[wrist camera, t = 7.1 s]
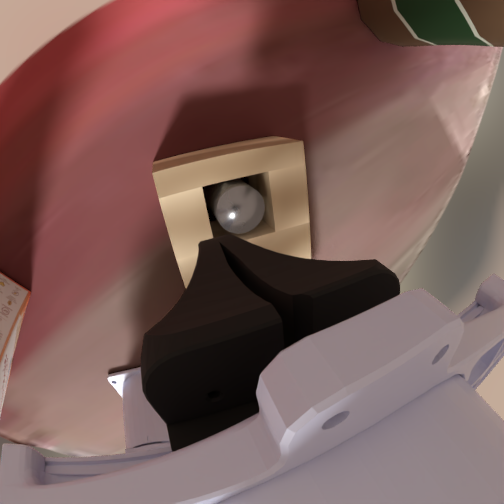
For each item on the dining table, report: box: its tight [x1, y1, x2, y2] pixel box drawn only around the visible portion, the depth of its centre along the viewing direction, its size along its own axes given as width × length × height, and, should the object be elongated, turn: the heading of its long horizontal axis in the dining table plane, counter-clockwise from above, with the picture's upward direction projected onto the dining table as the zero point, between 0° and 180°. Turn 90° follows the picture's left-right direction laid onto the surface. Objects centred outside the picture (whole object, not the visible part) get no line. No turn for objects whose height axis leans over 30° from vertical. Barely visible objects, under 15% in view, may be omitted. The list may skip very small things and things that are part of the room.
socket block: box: [152, 136, 311, 288], centre depth 21 cm, size 15×9×4 cm, turn 8°
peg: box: [204, 178, 265, 234], centre depth 19 cm, size 3×3×4 cm
